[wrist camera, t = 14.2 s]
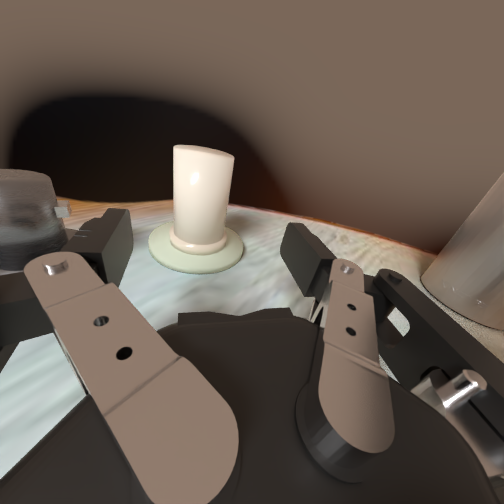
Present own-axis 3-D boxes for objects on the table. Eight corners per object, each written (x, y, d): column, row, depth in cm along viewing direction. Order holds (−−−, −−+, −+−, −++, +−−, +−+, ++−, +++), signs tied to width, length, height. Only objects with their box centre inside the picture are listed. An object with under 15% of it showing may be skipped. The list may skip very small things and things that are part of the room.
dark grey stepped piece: (101, 238, 22) (87, 167, 18) (99, 292, 16) (78, 204, 13) (-15, 246, 18) (-64, 157, 14) (-70, 321, 12) (-175, 205, 9)
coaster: (222, 223, 30) (223, 218, 30) (257, 265, 23) (259, 259, 23) (143, 227, 25) (142, 221, 25) (157, 282, 18) (156, 275, 18)
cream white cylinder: (215, 225, 27) (223, 149, 22) (234, 251, 23) (250, 164, 18) (164, 228, 24) (162, 140, 20) (176, 258, 20) (177, 156, 15)
